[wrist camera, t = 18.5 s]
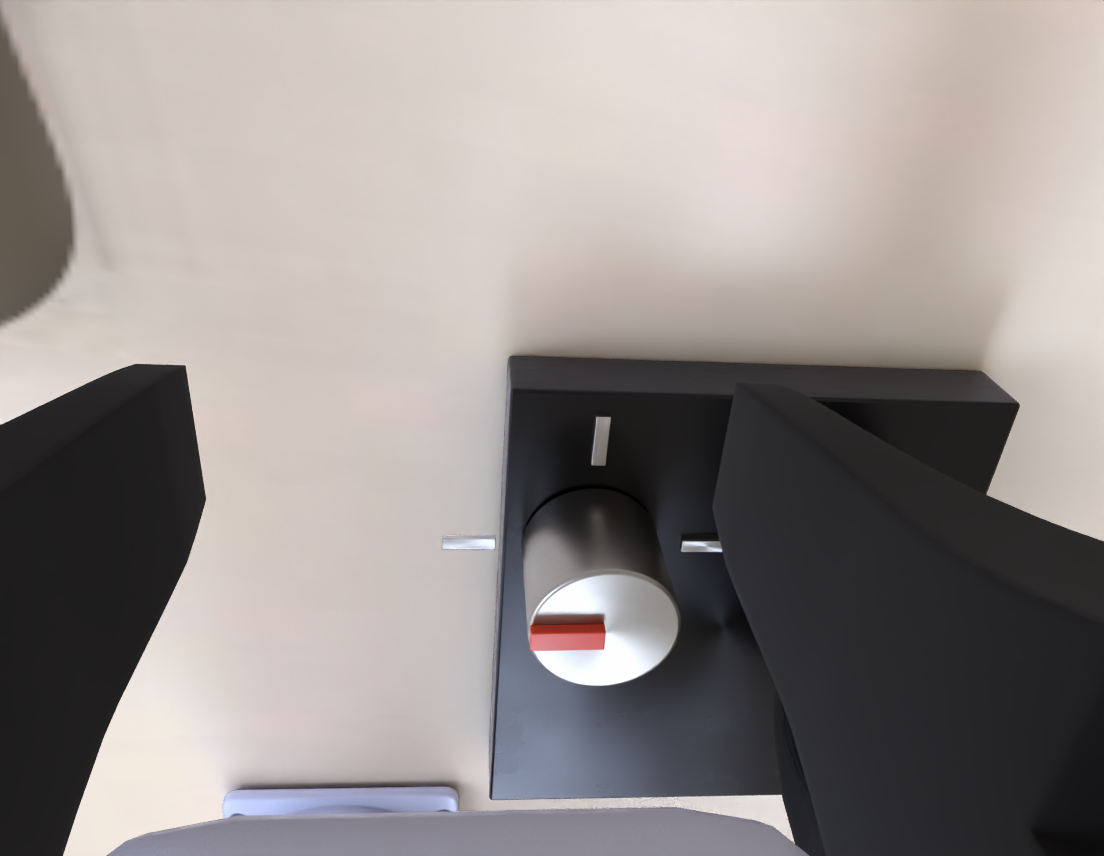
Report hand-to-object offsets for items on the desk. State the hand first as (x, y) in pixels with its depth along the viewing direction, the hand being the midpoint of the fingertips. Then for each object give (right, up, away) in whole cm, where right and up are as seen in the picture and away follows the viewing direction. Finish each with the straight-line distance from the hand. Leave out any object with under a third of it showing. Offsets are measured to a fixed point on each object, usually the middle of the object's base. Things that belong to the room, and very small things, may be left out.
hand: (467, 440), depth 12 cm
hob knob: (+2, -3, +11) cm, 12 cm away
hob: (+6, -5, +15) cm, 17 cm away
